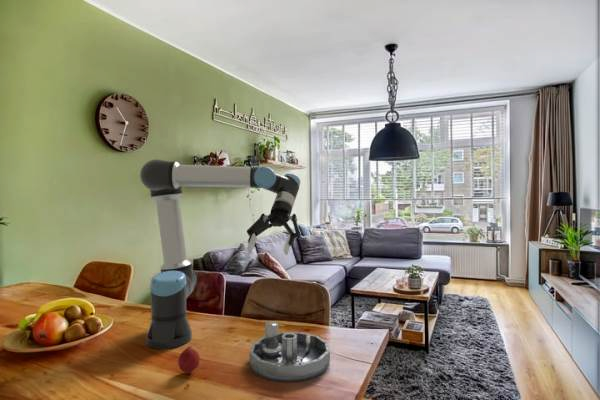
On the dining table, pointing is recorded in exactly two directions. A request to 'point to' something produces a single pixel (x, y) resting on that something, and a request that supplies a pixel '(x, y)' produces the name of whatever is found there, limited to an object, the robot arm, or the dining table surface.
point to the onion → (188, 360)
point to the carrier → (271, 349)
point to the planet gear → (289, 350)
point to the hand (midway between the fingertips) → (266, 251)
